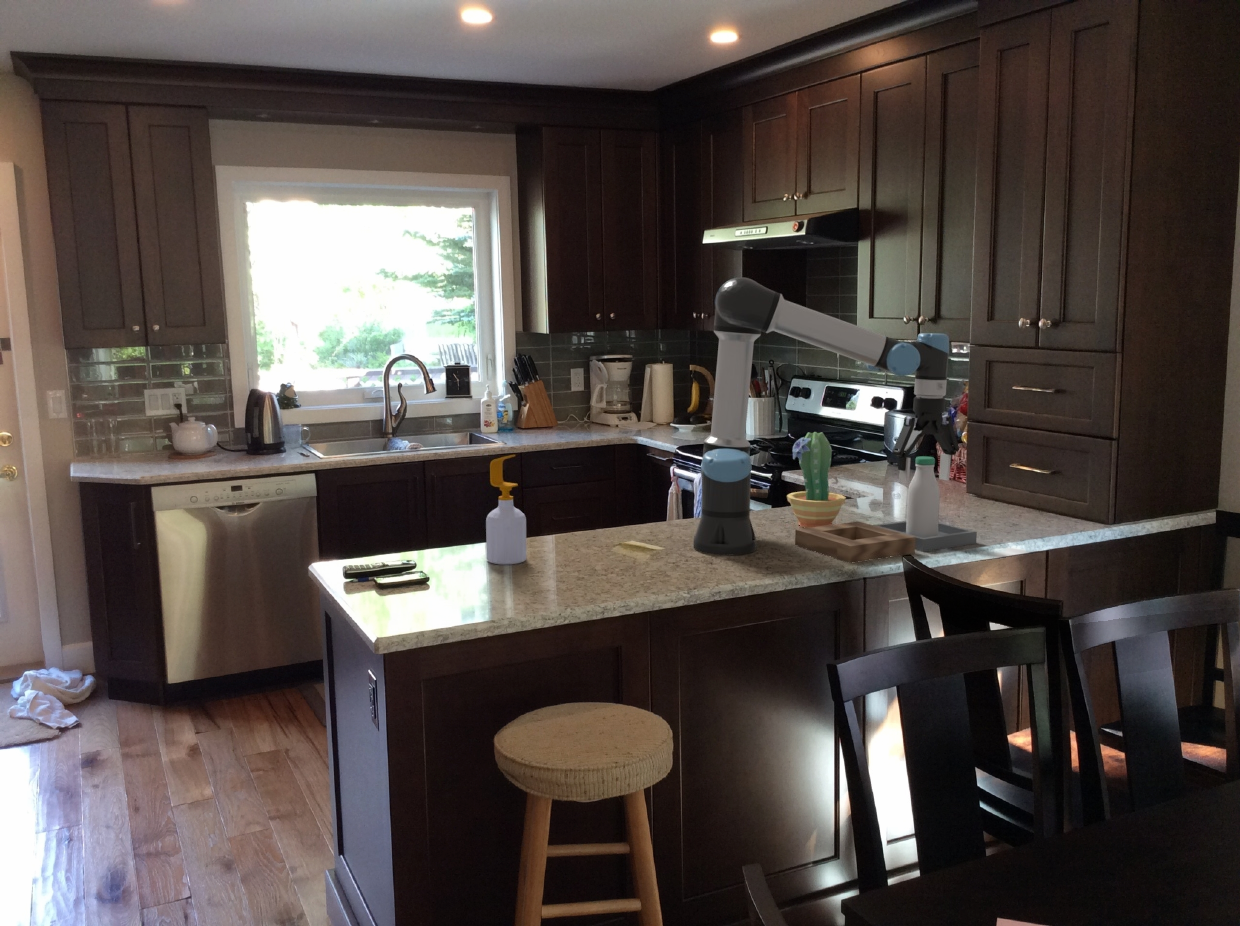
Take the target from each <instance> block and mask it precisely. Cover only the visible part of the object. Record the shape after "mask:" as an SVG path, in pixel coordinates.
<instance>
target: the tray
mask: <svg viewBox="0 0 1240 926" xmlns="http://www.w3.org/2000/svg"><path fill="white" fill-rule="evenodd" d="M872 525H873V526H877V527H881V528H884V529H888V530H892V531H895V532H899V533H903V534H906V535H910V536H914V537H916V538H915V551H920V552H928V551H934V550H935V551H936V550H941V549H948V548H949V549H950V548H953V547H954V548H955V547H962V546H968V545H975V544H977V538H978V537H977V535H978V531H976V530H972V529H968V528H964V527H960V526H957V525H956V526H955V525H953V524H952V525H951V524H948V523H944V522H940V521H939V524H938V536H932V537H925V538H922V537H918V536H915V535H911V534H907V533H906V520H901V521H893V522H886V523H878V524H872Z"/></svg>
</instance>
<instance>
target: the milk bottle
mask: <svg viewBox="0 0 1240 926" xmlns="http://www.w3.org/2000/svg"><path fill="white" fill-rule="evenodd" d="M915 457H916V458H915V471H914V474H913V477H912V479H911V481H910V482H909V484H908V490H907V500H906V501H907V503H906V519H905V521H906V533H907V534H911V535H915V536H918V537H922V538H925V537H932V536H938V524H939V522H940V519H939V517H940V498H941V496H940V486H939V483H938V480H937V479H936V475H935V472H934V471H935V469H934V467H935V464H936V459H935V458H934V457H933V456H927V455H925V456H924V455H923V456H915Z"/></svg>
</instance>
